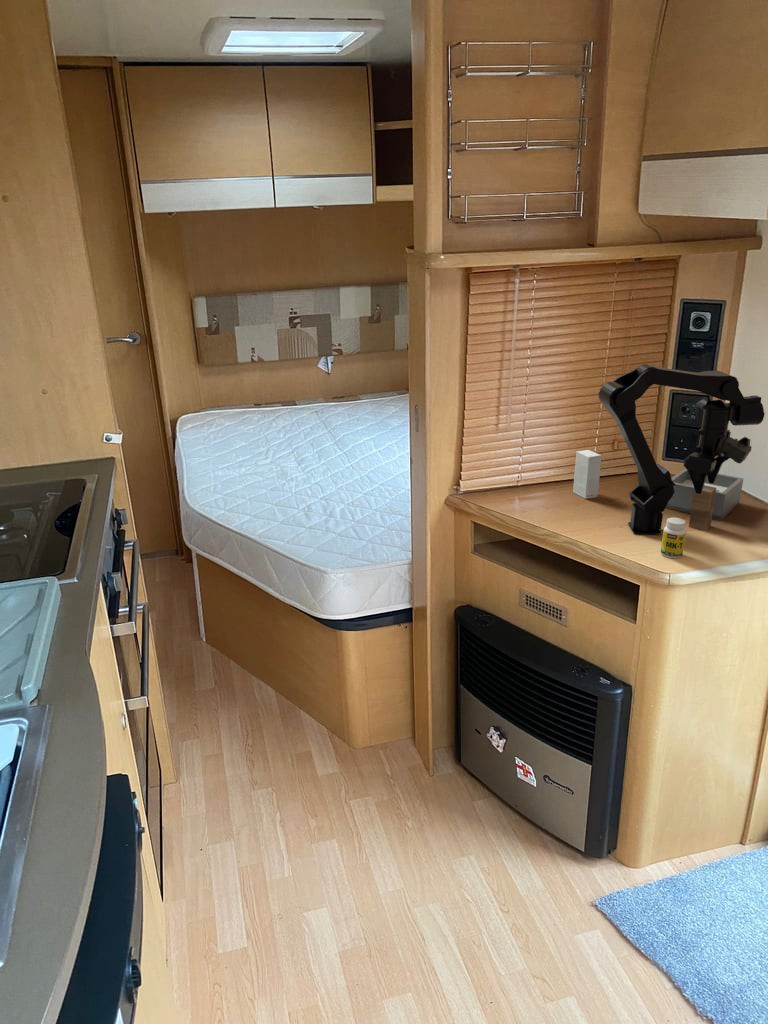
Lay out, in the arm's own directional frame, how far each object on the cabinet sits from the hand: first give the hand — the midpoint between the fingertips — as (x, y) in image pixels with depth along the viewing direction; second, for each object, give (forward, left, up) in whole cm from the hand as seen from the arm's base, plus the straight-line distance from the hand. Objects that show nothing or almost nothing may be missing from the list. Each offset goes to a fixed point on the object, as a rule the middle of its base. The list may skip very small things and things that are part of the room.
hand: (704, 488), depth 189 cm
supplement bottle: (-11, -17, -10) cm, 23 cm away
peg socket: (+5, +14, -10) cm, 18 cm away
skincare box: (-24, +21, -10) cm, 34 cm away
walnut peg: (0, 0, -10) cm, 10 cm away
